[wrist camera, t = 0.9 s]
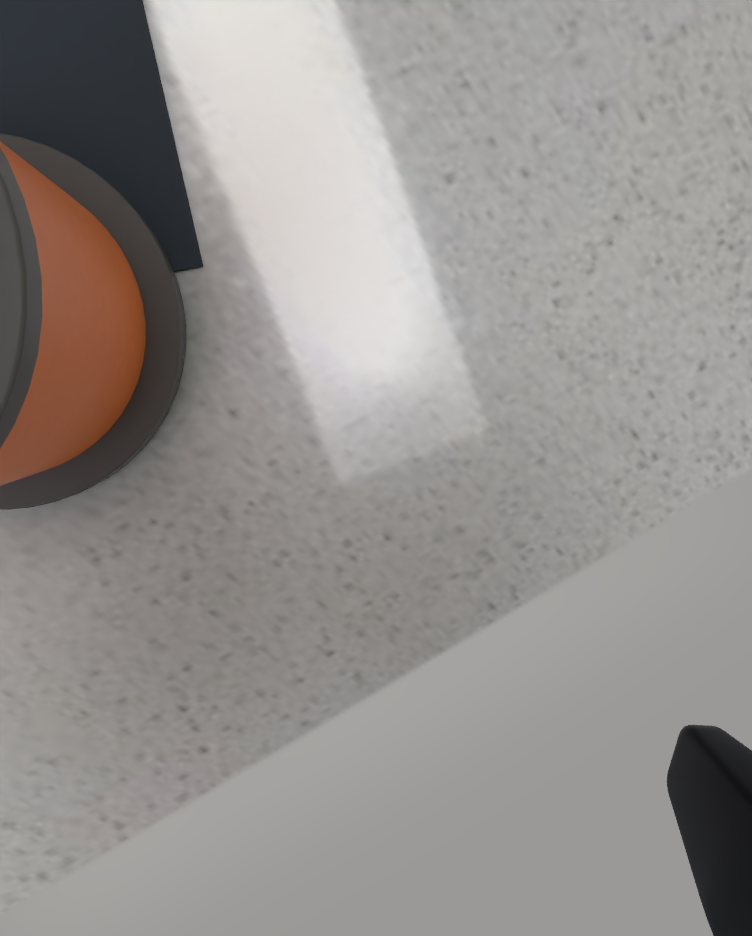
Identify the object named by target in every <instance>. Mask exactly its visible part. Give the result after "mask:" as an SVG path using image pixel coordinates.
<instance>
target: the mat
mask: <svg viewBox="0 0 752 936" xmlns="http://www.w3.org/2000/svg"><path fill="white" fill-rule="evenodd" d="M0 133H3V134H8V135H13V136H17V137H22V138H26V139H29V140H32V141H35V142H38V143H41V144H44V145H47V146H50V147H52V148H54V149H56V150H58V151H60V152H62V153H64V154H66V155H68V156H70V157H72V158H74V159H76V160H77V161H79V162H80V163H82V164H84V165H85V166H87V167H88V168H90V169H91V170H93V171H94V172H96V173H97V174H98V175H100V176H101V177H102V178H103V179H104V180H106V181H107V182H108V183H109V184H110V185H112V186H113V187H114V188H115V189H116V190H117V191H118V192H119V193H120V194H121V195H122V196H123V197H124V198H125V199H126V200H127V201H128V202H129V203H130V204H131V205H132V206H133V207H134V208H135V209H136V210H137V212H138V213H139V214H140V215H141V216H142V217H143V219H144V220H145V221H146V223H147V224H148V225H149V227H150V228H151V230H152V231H153V232H154V234H155V235H156V237H157V239H158V240H159V242H160V244H161V246H162V248H163V249H164V251H165V253H166V255H167V257H168V259H169V261H170V264H171V266H172V269H173V271H174V272H177V271H182V270H187V269H193V268H198V267H203V264H202V260H201V255H200V251H199V247H198V242H197V238H196V234H195V229H194V225H193V220H192V216H191V212H190V207H189V203H188V199H187V194H186V190H185V186H184V181H183V177H182V172H181V168H180V164H179V159H178V155H177V151H176V146H175V142H174V138H173V133H172V129H171V125H170V120H169V116H168V111H167V107H166V103H165V98H164V94H163V90H162V85H161V81H160V77H159V72H158V68H157V63H156V59H155V55H154V50H153V46H152V42H151V37H150V33H149V29H148V24H147V20H146V15H145V11H144V7H143V2H142V0H0Z"/></svg>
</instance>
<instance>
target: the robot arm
mask: <svg viewBox="0 0 752 936" xmlns="http://www.w3.org/2000/svg"><path fill="white" fill-rule="evenodd" d="M667 787H668V793H669V797H670V800H671V803H672V806H673V810H674V813H675V816H676V820H677V823H678V826H679V830H680V833H681V836H682V839H683V843H684V846H685V849H686V853H687V856H688V859H689V863H690V866H691V869H692V872H693V876H694V879H695V882H696V886H697V889H698V892H699V896H700V899H701V902H702V905H703V908H704V911H705V914H706V917H707V920H708V922H709V925H710V927H711V930H712V933H713V935H714V936H752V751H751V750H750V749H749V748H747V747H746V746H744V745H743V744H742V743H740V742H739V741H737V740H736V739H735V738H733V737H732V736H731V735H729V734H728V733H726V732H725V731H723V730H722V729H720V728H718V727H715V726H703V725H688V726H685V727H684V728H683V729H682V730H681V732H680V734H679V737H678V740H677V744H676V747H675V750H674V754H673V757H672V760H671V763H670V767H669V770H668V775H667Z"/></svg>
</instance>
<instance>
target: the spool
mask: <svg viewBox="0 0 752 936" xmlns="http://www.w3.org/2000/svg"><path fill="white" fill-rule="evenodd" d="M185 349H186V324H185V317H184V309H183V302H182V298H181V294H180V290H179V286H178V282H177V279H176V276H175V274H174V271H173V269H172V266H171V264H170V261H169V259H168V257H167V255H166V253H165V251H164V249H163V248H162V246H161V244H160V242H159V240H158V239H157V237H156V235H155V234H154V232H153V231H152V230H151V228H150V227H149V225H148V224H147V223H146V221H145V220H144V219H143V217H142V216H141V215H140V214H139V213H138V212H137V210H136V209H135V208H134V207H133V206H132V205H131V204H130V203H129V202H128V201H127V200H126V199H125V198H124V197H123V196H122V195H121V194H120V193H119V192H118V191H117V190H116V189H115V188H114V187H113V186H112V185H110V184H109V183H108V182H107V181H106V180H104V179H103V178H102V177H101V176H100V175H98V174H97V173H96V172H94V171H93V170H91V169H90V168H88V167H87V166H85V165H84V164H82V163H80V162H79V161H77V160H76V159H74V158H72V157H70V156H68V155H66V154H64V153H62V152H60V151H58V150H56V149H54V148H52V147H50V146H47V145H44V144H41V143H38V142H35V141H32V140H29V139H26V138H22V137H17V136H13V135H8V134H3V133H0V509H17V508H27V507H34V506H39V505H43V504H47V503H51V502H56V501H59V500H61V499H64V498H67V497H69V496H72V495H75V494H77V493H80V492H82V491H84V490H86V489H88V488H90V487H92V486H93V485H95V484H97V483H99V482H101V481H103V480H105V479H107V478H108V477H110V476H111V475H112V474H114V473H115V472H117V471H118V470H119V469H121V468H122V467H124V466H125V465H126V464H127V463H128V462H129V461H130V460H132V459H133V458H134V457H135V456H136V455H137V454H138V453H139V452H140V451H141V450H142V449H143V448H144V447H145V445H146V444H147V443H148V442H149V440H150V439H151V438H152V437H153V435H154V434H155V433H156V431H157V430H158V428H159V427H160V425H161V423H162V422H163V420H164V418H165V417H166V415H167V413H168V411H169V409H170V406H171V404H172V402H173V399H174V397H175V395H176V392H177V389H178V385H179V381H180V378H181V374H182V370H183V363H184V356H185Z"/></svg>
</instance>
